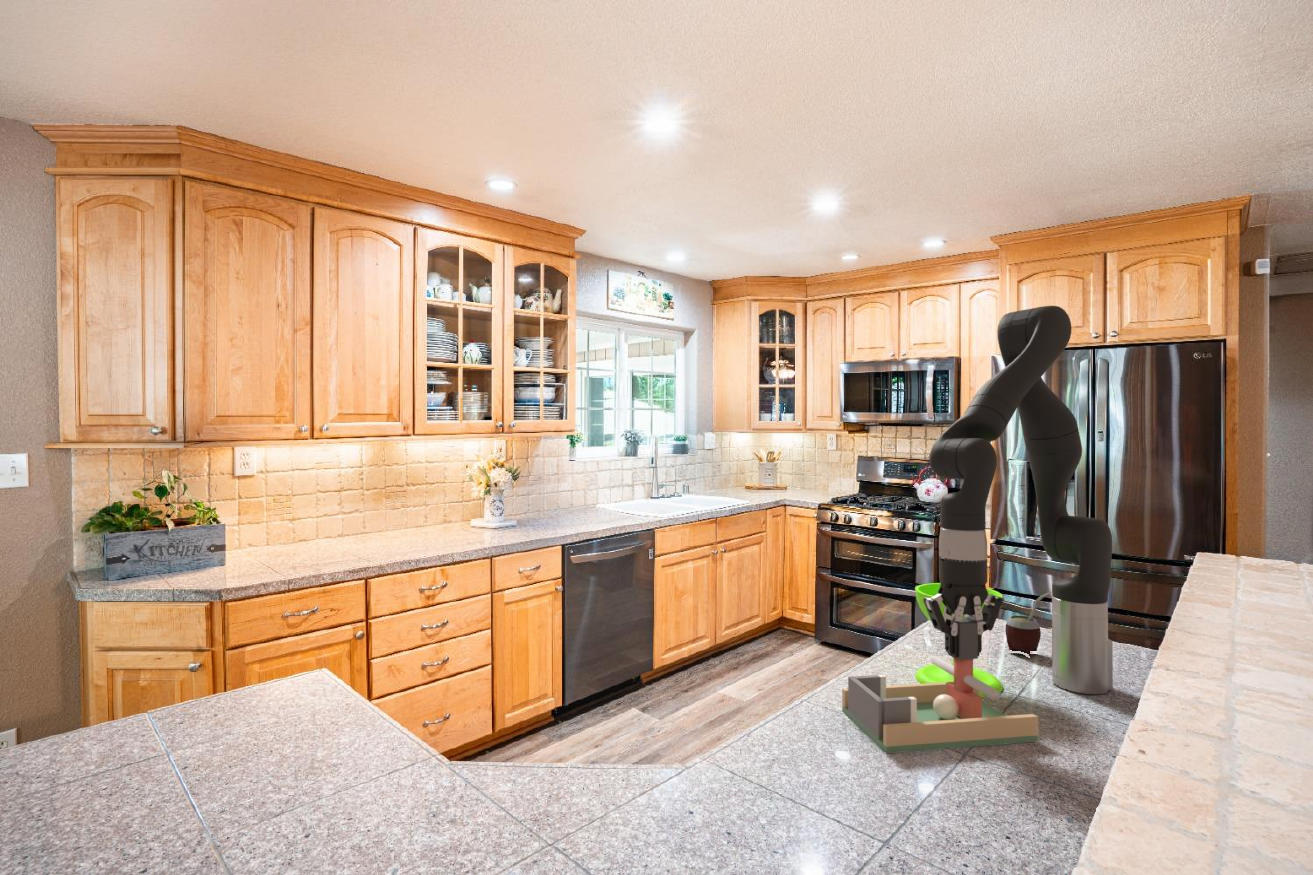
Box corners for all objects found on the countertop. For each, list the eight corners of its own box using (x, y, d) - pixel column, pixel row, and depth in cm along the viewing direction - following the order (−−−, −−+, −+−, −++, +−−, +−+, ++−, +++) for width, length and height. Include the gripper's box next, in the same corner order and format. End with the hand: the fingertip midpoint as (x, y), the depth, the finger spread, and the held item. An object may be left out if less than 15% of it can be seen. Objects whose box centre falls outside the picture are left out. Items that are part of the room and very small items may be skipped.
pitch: (975, 701, 121) (975, 664, 121) (1038, 741, 105) (1037, 697, 105) (842, 710, 117) (842, 671, 117) (886, 753, 102) (886, 707, 102)
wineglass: (922, 693, 126) (922, 599, 126) (909, 665, 141) (909, 581, 141) (1014, 700, 122) (1013, 603, 122) (990, 670, 138) (989, 584, 138)
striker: (943, 695, 121) (943, 607, 121) (1005, 737, 104) (1005, 635, 104) (927, 696, 120) (926, 608, 120) (987, 738, 104) (986, 636, 104)
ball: (949, 712, 114) (949, 690, 114) (963, 722, 110) (963, 698, 110) (928, 714, 113) (928, 691, 113) (941, 724, 109) (941, 700, 109)
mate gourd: (1000, 648, 152) (999, 583, 152) (1036, 649, 151) (1035, 584, 151) (1014, 659, 145) (1014, 591, 145) (1052, 660, 144) (1051, 591, 144)
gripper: (986, 549, 117) (986, 646, 117) (912, 552, 115) (913, 650, 115) (1015, 557, 110) (1015, 660, 110) (937, 559, 108) (937, 665, 107)
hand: (963, 654), depth 112 cm, fingers closed on striker, 3 cm apart
